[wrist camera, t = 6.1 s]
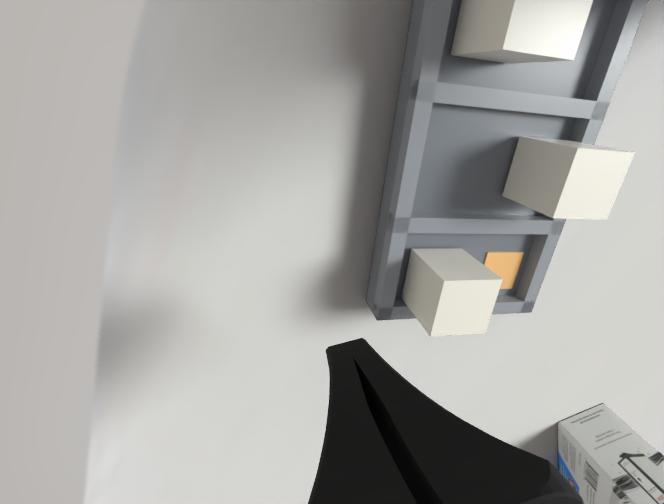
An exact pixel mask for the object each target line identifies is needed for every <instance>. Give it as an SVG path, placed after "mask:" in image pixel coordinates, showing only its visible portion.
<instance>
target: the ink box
mask: <svg viewBox="0 0 664 504" xmlns="http://www.w3.org/2000/svg"><path fill="white" fill-rule="evenodd" d="M558 454H559V472H560V473H561V474H562V475H563V476H564V477H565V478H566V479H567V480H568V482H569V483H570V484H571V485H572V486H573V487H574V489H575V490H576V491H577V492H578V494H579V495H580V496H581V497H582V499H583V502H584V504H664V456H663V455H662V454H661V453H660V452H659V451H658V450H657V449H656V448H654V447H653V446H652V445H651V444H650V443H649V442H648V441H647V440H646V439H644V438H643V437H642V436H641V435H640V434H639V433H638V432H636V431H635V430H634V429H633V428H632V427H631V426H630V425H629V424H627V423H626V422H625V421H624V420H623V419H622V418H621V417H620V416H619V415H617V414H616V413H615V412H614V411H613V410H612V409H611V408H610V407H608V406H607V405H606V404H605V403H603V404H601V405H598V406H596V407H594V408H591V409H589V410H586V411H584V412H582V413H579V414H577V415H575V416H572V417H570V418H568V419H565V420H563V421H560V422H559V423H558Z"/></svg>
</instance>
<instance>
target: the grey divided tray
mask: <svg viewBox="0 0 664 504" xmlns="http://www.w3.org/2000/svg"><path fill="white" fill-rule="evenodd" d="M461 2H462V0H413V5H412V12H411V18H410V24H409V31H408V37H407V43H406V50H405V56H404V62H403V69H402V75H401V81H400V88H399V94H398V100H397V107H396V113H395V119H394V126H393V132H392V138H391V145H390V151H389V157H388V164H387V170H386V176H385V182H384V189H383V195H382V201H381V208H380V214H379V220H378V227H377V233H376V239H375V246H374V252H373V258H372V265H371V271H370V277H369V284H368V290H367V296H366V302H367V304H368V305H369V307H370V309H371V311H372V312H373V314H374V316H375V318H376V319H377V320H393V319H412V318H416V317H415V315H414V314H413V313H412V311H411V310H410V309H409V307H408V306H407V305H406V303H405V302H404V301H403V299H402V293H403V288H404V283H405V278H406V273H407V268H408V263H409V258H410V253H411V249H437V248H462V249H463V250H465V251H466V252H467V253H469V254H470V255H471V256H473V257H474V258H475V259H477V260H478V261H479V262H481V263H482V264H483V265H484V266H486V267H487V268H488V269H490V270H491V271H492V272H494V273H495V274H496V275H498V276H499V277H500V278H502V279H503V280H502V283H501V286H500V290H499V293H498V296H497V299H496V302H495V305H494V308H493V311H492V314H508V313H528V312H532V309H533V306H534V304H535V301H536V298H537V296H538V293H539V290H540V288H541V285H542V282H543V280H544V277H545V274H546V272H547V269H548V266H549V264H550V261H551V258H552V256H553V253H554V250H555V248H556V245H557V242H558V240H559V237H560V234H561V232H562V229H563V226H564V224H565V221H566V219H561V218H551V217H549V216H546V215H544V214H542V213H540V212H537V211H535V210H533V209H531V208H528V207H526V206H524V205H522V204H520V203H517V202H515V201H513V200H511V199H508V198H506V197H504V196H502V195H503V192H504V188H505V185H506V181H507V178H508V174H509V171H510V168H511V164H512V161H513V157H514V154H515V151H516V147H517V144H518V140H519V137H520V136H524V137H536V138H547V139H559V140H570V141H575V142H581V143H586V144H591V145H594V144H595V141H596V138H597V136H598V133H599V130H600V128H601V125H602V122H603V120H604V117H605V114H606V112H607V109H608V106H609V104H610V101H611V98H612V96H613V93H614V90H615V88H616V85H617V82H618V80H619V77H620V74H621V72H622V69H623V66H624V64H625V61H626V58H627V56H628V53H629V50H630V48H631V45H632V42H633V40H634V37H635V34H636V32H637V29H638V26H639V24H640V21H641V18H642V16H643V13H644V11H645V8H646V5H647V3H648V0H593V3H592V6H591V9H590V12H589V15H588V18H587V21H586V24H585V27H584V30H583V34H582V37H581V40H580V43H579V46H578V49H577V52H576V55H575V58H574V60H569V61H551V62H532V63H514V64H510V63H503V62H496V61H488V60H481V59H474V58H467V57H460V56H453V55H451V51H452V46H453V41H454V36H455V31H456V26H457V21H458V16H459V11H460V6H461Z"/></svg>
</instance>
